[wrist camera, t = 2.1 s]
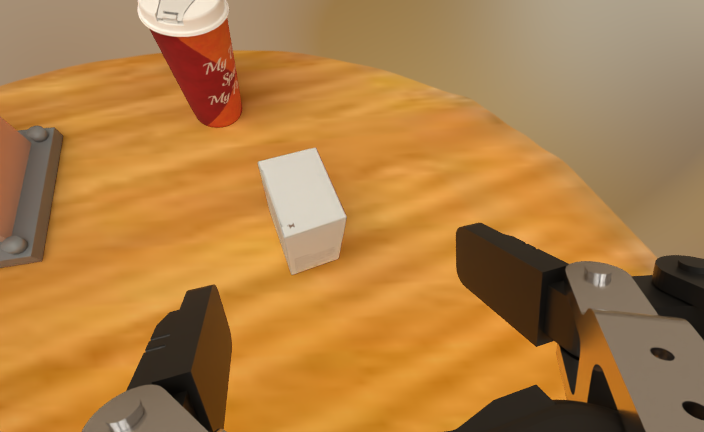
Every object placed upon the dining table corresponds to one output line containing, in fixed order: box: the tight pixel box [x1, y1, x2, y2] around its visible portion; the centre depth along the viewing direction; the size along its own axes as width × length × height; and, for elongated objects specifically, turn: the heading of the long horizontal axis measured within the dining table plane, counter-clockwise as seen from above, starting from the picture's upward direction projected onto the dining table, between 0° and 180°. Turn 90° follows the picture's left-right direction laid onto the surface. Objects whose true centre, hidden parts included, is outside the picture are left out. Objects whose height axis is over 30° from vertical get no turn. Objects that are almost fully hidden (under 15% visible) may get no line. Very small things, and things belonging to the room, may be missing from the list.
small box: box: [258, 148, 347, 275], centre depth 33 cm, size 8×6×10 cm
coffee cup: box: [138, 0, 242, 128], centre depth 37 cm, size 8×8×15 cm
